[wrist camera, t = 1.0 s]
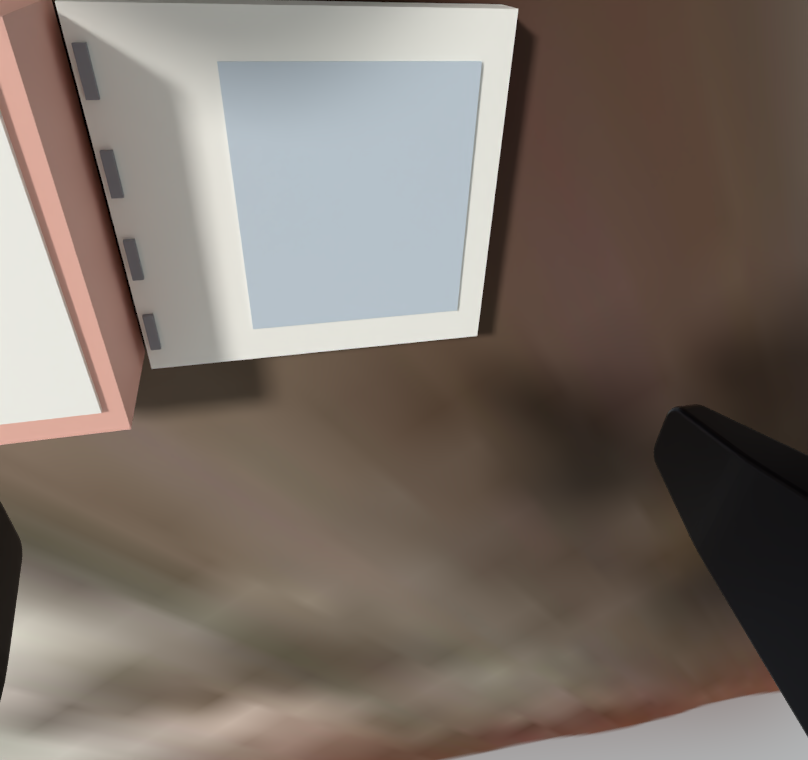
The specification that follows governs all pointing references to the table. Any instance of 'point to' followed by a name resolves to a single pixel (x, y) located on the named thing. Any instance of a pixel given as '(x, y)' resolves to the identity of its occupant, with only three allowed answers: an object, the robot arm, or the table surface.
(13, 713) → the table surface
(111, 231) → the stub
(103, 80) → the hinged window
